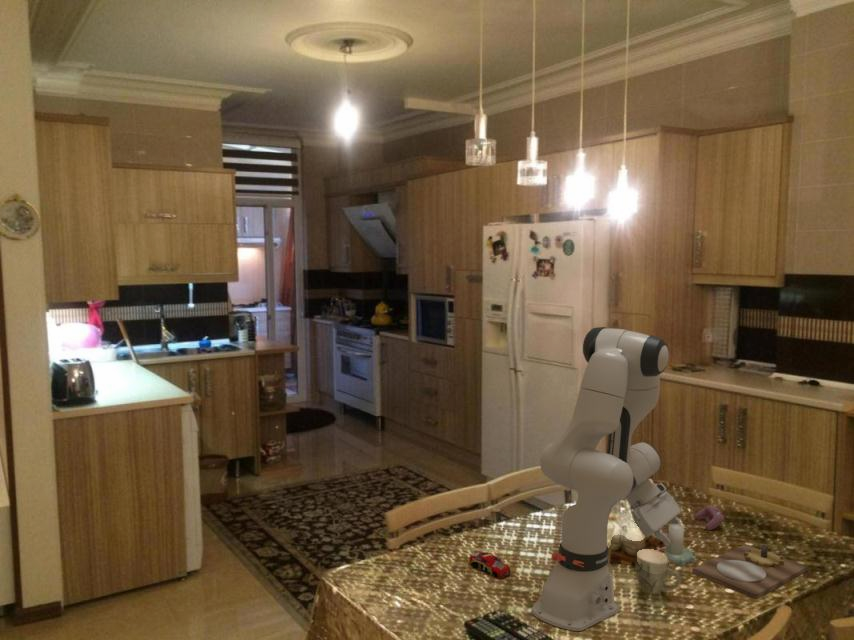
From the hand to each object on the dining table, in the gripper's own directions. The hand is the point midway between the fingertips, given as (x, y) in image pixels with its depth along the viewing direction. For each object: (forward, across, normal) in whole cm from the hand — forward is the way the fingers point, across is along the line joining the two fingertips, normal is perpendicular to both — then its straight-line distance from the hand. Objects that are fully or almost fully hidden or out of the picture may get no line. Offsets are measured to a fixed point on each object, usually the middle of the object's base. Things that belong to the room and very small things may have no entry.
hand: (676, 538), depth 199 cm
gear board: (+17, +4, -10) cm, 20 cm away
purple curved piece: (+4, +30, +5) cm, 30 cm away
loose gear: (+4, 0, +4) cm, 6 cm away
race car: (-21, -40, +30) cm, 54 cm away
